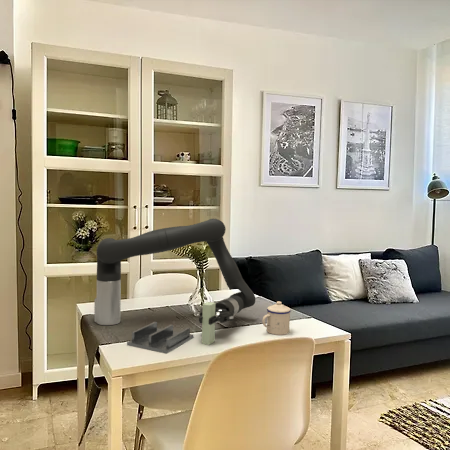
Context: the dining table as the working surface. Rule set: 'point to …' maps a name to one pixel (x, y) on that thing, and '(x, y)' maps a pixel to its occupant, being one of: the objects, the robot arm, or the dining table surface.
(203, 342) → the pale green rectangular block
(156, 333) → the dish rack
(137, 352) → the dining table surface
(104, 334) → the dining table surface
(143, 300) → the dining table surface
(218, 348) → the dining table surface
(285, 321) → the teacup with lid
